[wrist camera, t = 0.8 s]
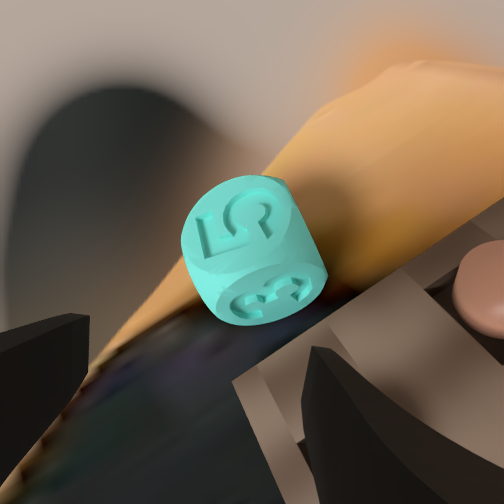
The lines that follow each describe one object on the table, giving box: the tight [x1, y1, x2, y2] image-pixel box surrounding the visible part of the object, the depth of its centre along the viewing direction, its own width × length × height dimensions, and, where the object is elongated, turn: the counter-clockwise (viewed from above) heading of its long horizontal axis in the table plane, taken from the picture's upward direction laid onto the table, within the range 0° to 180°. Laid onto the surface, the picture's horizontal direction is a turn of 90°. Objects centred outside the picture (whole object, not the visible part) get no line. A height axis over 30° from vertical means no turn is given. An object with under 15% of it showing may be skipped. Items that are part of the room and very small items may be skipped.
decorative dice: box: [181, 175, 328, 325], centre depth 24 cm, size 8×8×8 cm
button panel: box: [232, 198, 504, 504], centre depth 18 cm, size 13×21×3 cm, turn 118°
